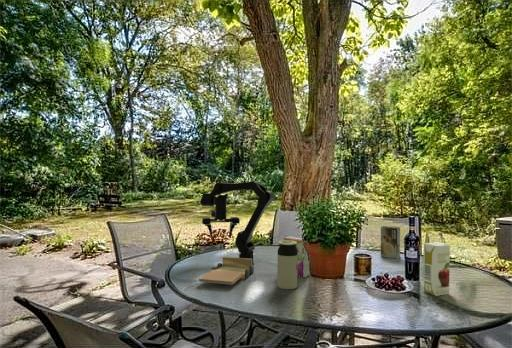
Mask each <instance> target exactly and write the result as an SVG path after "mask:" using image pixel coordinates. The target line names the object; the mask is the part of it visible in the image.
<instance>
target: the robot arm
mask: <svg viewBox="0 0 512 348" xmlns="http://www.w3.org/2000/svg"><path fill="white" fill-rule="evenodd" d="M244 190H252V191H253V193H254V194H255V195H256V196H257V197H258V198H257V202H256V203H257V204H256V207H255V209H254V211H253V213H252V215H251V217H250V218H249V220H248V223H247V224H246V227H245V228H244V230H241V231H238V233H237V236H236V237H235V238H234V239H235V242H234V243H235V247H236V248H237V251H238V258H248V259H252V266H254V265H255V263H254V250H255V248H256V245H255V244H254V243H253V242H252V240H253V233H254V231H255V229H256V228H257V226H258V224H259V222H260V220H261V219H262V217H263V214H264V212H265V210H266V209H267V208H268V207H269V206H270V205H271V204H272V203H273V202H274V200H275V197H276V196H275V193H274V192H273V190H269V189H268V188H267V187H265V186H264V185H263V184H261V183H260V182H259V181H257V180H255V181H248V182H247V181H245V182H237V183H231V182H225V181H224V182H223V181H222V182H216V183H214V186H213V189H212V190H211V191H210V193H208V192H203V193H202V196H201V199H200V205H201V206H202V207H211V208H212V207H214V208H215V209H214V210H211V211H210V217H202V219H201V223H202V225H204V226H206V227H207V229H208V232H209V234H210V238H211V239H212V238H213V230H212V224H213V223H229V230H228V231H229V232H228V237H229V238H231V236H232V233H233V231H234V228H235V226H238V224H240V221H241V220H240V218H239V217H238V216H231V217H230V218H227V199H231V196H230V195H229V193H230V192H233V191H244ZM211 223H212V224H211Z"/></svg>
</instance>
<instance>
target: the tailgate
mask: <svg viewBox="0 0 512 348" xmlns="http://www.w3.org/2000/svg"><path fill="white" fill-rule="evenodd" d="M242 276H243V272H234V271H222V270H212V269H211V270H210V271H208V272H207V273H206V274H204V275H203V276H201V277H199V278H198V282H200V283H211V284H221V285H234V284H235V283H236V282H238V281H239V280H241V279H240V278H241V277H242Z"/></svg>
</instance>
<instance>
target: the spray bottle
mask: <svg viewBox="0 0 512 348" xmlns="http://www.w3.org/2000/svg"><path fill="white" fill-rule="evenodd" d="M283 240H290V241H296V242H297V244H296V248H297V250H298V264H297V276H300V277H299V278H301V277H305V276H307V275H309V276H310V260H309V261H308V256H307V253H306V251H305V248H304V243H303V241H302V237H296V236H291V235H290V236H285V237H283ZM305 278H306V277H305Z"/></svg>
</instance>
